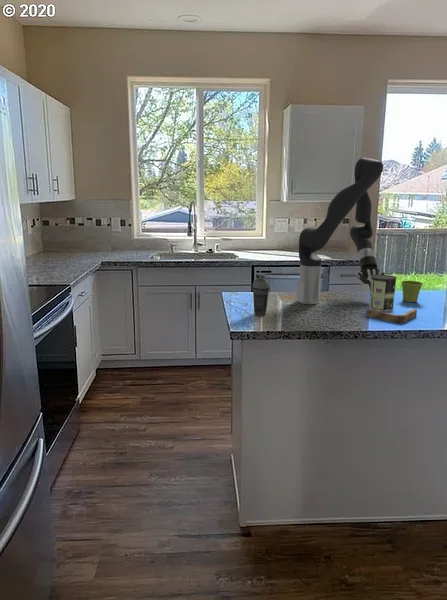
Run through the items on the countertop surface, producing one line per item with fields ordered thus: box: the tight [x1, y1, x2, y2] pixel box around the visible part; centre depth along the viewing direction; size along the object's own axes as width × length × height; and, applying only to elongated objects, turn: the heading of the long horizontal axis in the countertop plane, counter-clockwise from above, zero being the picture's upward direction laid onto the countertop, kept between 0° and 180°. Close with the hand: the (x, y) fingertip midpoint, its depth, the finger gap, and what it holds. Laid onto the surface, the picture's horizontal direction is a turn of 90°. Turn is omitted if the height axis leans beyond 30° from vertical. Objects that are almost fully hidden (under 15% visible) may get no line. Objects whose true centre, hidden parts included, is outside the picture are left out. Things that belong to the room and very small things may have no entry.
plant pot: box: [400, 280, 424, 303], centre depth 210 cm, size 9×9×9 cm
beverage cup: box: [251, 266, 270, 317], centre depth 184 cm, size 7×7×20 cm
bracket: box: [366, 308, 418, 325], centre depth 181 cm, size 11×21×3 cm, turn 92°
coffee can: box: [368, 274, 398, 312], centre depth 196 cm, size 10×10×14 cm
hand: (373, 291), depth 206 cm, fingers closed
